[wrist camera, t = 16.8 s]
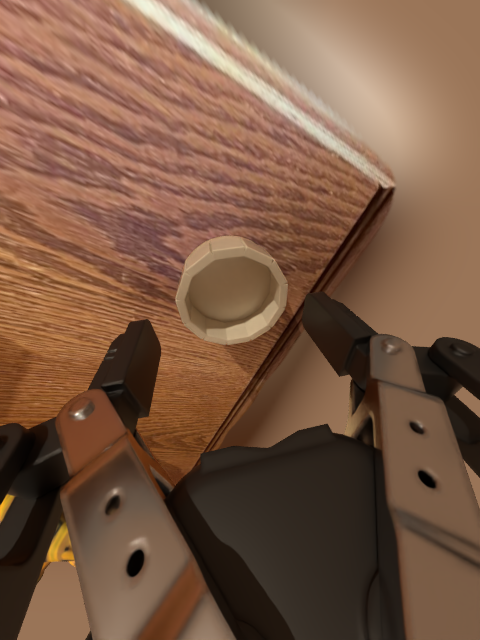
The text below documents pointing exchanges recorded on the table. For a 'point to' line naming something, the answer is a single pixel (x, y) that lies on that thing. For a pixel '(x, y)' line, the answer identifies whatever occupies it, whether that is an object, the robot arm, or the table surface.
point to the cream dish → (230, 291)
